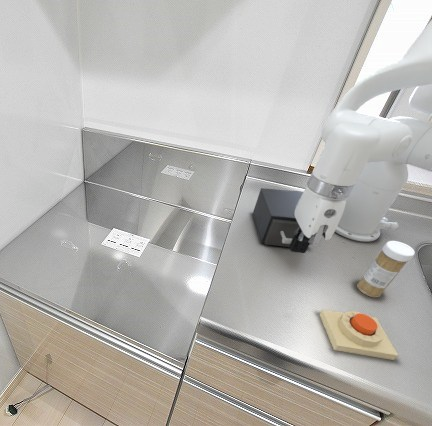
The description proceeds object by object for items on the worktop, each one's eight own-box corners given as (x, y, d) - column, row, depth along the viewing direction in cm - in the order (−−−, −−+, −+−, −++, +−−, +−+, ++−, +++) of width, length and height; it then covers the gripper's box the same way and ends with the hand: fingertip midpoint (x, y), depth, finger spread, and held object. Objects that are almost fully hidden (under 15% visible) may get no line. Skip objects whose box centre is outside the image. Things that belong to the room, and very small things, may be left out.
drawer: (312, 260, 74) (325, 237, 69) (268, 255, 75) (277, 232, 71) (293, 220, 87) (303, 198, 82) (256, 216, 89) (263, 195, 84)
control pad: (372, 322, 61) (381, 312, 59) (393, 360, 54) (404, 350, 52) (319, 314, 62) (326, 304, 60) (333, 350, 56) (342, 340, 54)
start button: (367, 320, 58) (371, 315, 57) (376, 337, 55) (381, 331, 54) (347, 317, 58) (351, 312, 57) (355, 333, 55) (359, 328, 54)
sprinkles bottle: (383, 292, 67) (419, 249, 59) (374, 301, 65) (410, 258, 57) (361, 279, 70) (392, 236, 62) (352, 288, 68) (382, 245, 60)
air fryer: (307, 248, 78) (321, 220, 73) (260, 243, 80) (271, 215, 75) (292, 218, 89) (304, 191, 83) (252, 214, 91) (260, 188, 85)
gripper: (368, 207, 54) (325, 275, 64) (334, 169, 66) (303, 232, 76) (323, 203, 55) (288, 270, 66) (298, 167, 67) (272, 229, 78)
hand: (296, 250), depth 71 cm, fingers closed
